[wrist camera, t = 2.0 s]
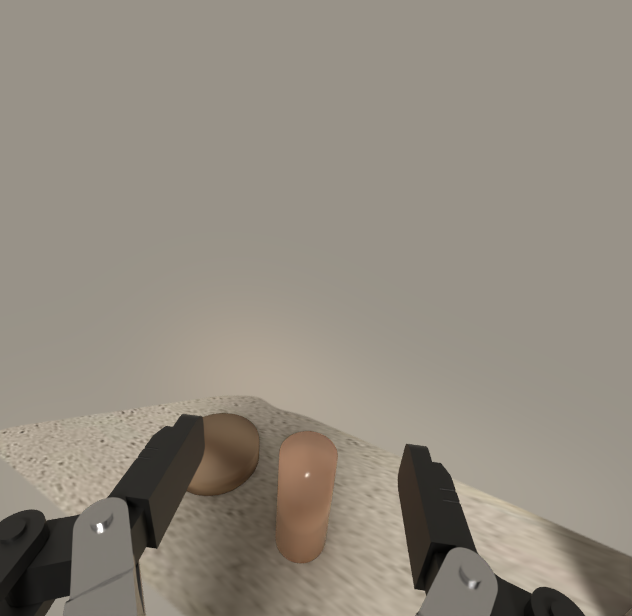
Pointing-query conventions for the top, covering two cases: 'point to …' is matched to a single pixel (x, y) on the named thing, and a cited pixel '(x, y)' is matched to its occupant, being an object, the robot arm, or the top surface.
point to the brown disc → (226, 454)
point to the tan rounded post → (304, 495)
